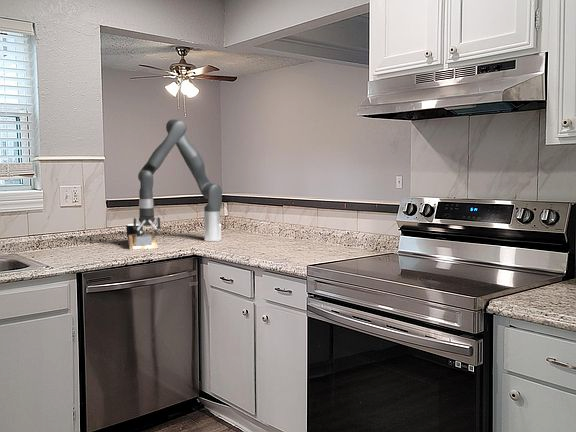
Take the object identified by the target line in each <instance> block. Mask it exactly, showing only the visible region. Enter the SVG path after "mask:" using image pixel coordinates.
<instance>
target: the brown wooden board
mask: <svg viewBox="0 0 576 432" xmlns="http://www.w3.org/2000/svg"><path fill="white" fill-rule="evenodd" d="M149 234H151V236H152V243H156V244H157V241H156V240H157V239H156V238H157V236H156V237H155V236H154V233H142V234H140V236H143V235H149ZM136 236H137V234H129V235H128V238H127V243H128V248H129V250H132V249H131V247H133V244H136Z"/></svg>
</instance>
